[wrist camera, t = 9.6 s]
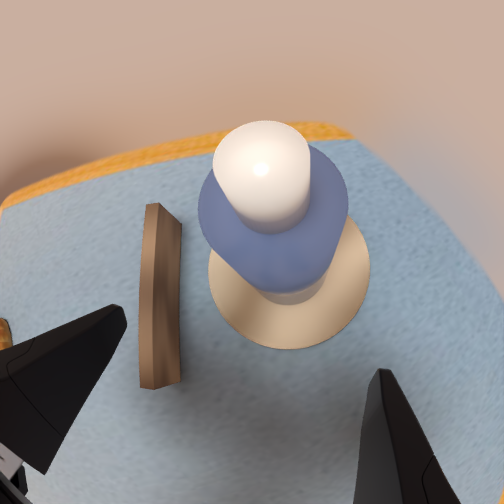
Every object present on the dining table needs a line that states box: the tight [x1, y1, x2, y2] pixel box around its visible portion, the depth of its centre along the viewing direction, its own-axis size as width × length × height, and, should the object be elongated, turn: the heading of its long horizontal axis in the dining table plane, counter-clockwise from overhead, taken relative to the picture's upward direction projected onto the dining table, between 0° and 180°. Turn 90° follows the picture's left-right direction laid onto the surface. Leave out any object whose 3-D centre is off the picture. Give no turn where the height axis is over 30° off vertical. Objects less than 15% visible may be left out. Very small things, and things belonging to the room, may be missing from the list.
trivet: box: [208, 215, 370, 349], centre depth 20 cm, size 11×11×1 cm
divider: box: [139, 203, 182, 390], centre depth 19 cm, size 12×1×4 cm, turn 2°
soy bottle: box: [198, 121, 348, 305], centre depth 13 cm, size 5×5×12 cm
